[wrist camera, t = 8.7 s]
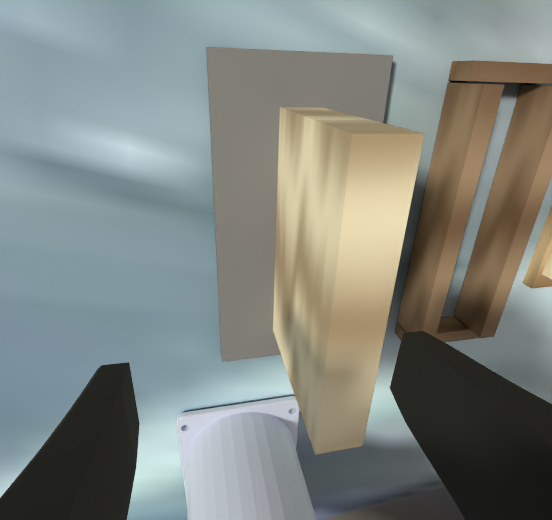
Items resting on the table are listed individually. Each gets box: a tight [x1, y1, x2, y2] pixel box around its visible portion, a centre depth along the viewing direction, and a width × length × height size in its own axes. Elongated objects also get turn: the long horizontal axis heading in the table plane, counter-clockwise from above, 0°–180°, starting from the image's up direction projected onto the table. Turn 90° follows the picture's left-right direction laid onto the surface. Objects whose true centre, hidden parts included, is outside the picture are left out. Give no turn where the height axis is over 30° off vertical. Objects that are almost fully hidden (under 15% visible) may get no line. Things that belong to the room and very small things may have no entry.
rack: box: [395, 61, 552, 342], centre depth 20 cm, size 16×5×2 cm, turn 178°
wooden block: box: [273, 107, 424, 455], centre depth 16 cm, size 12×2×8 cm, turn 178°
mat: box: [207, 47, 393, 362], centre depth 19 cm, size 16×8×1 cm, turn 178°
